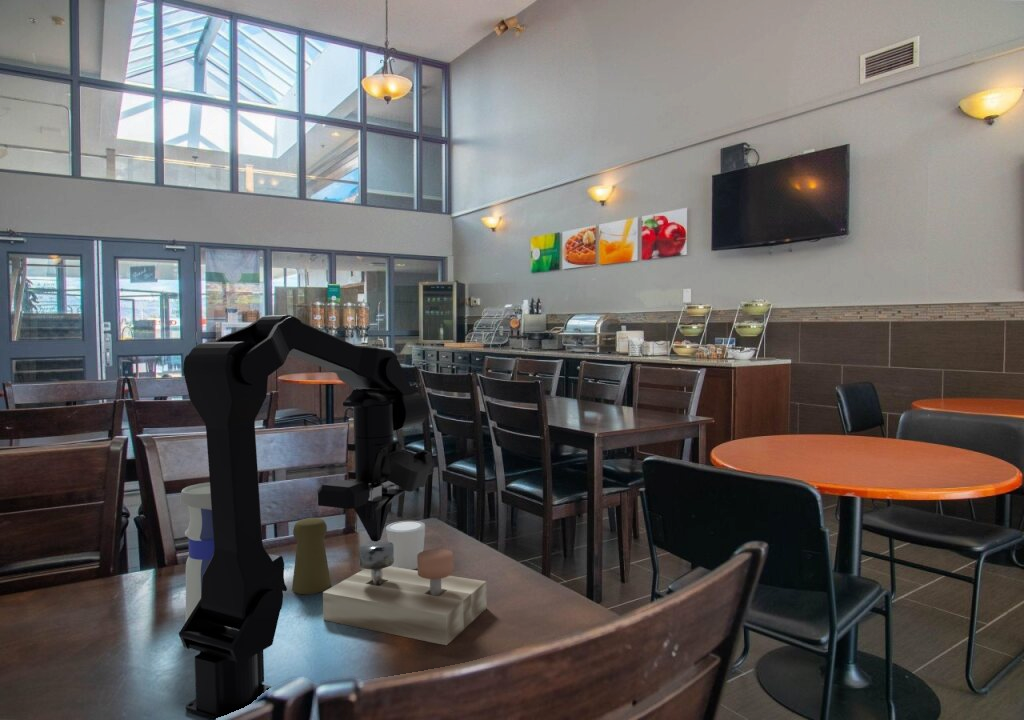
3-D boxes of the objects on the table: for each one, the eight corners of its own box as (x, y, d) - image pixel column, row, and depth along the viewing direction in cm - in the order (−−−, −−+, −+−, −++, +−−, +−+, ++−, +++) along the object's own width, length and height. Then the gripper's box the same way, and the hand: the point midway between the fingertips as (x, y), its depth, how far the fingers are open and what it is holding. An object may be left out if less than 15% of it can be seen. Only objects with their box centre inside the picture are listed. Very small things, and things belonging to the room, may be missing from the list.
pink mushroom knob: (442, 608, 85) (441, 563, 85) (411, 603, 87) (410, 558, 87) (459, 594, 89) (459, 551, 89) (429, 589, 91) (429, 547, 91)
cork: (319, 595, 97) (317, 525, 97) (284, 592, 99) (282, 524, 98) (337, 580, 103) (336, 514, 103) (304, 578, 104) (302, 513, 104)
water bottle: (249, 604, 94) (244, 440, 93) (247, 629, 86) (241, 449, 85) (188, 614, 91) (182, 444, 90) (180, 640, 83) (173, 454, 82)
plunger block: (446, 645, 81) (445, 615, 81) (323, 619, 89) (322, 592, 89) (486, 608, 92) (486, 581, 92) (373, 588, 100) (373, 563, 100)
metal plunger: (381, 597, 89) (380, 554, 89) (352, 592, 91) (351, 549, 91) (401, 584, 93) (400, 543, 93) (373, 580, 95) (372, 539, 95)
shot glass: (382, 561, 112) (381, 523, 112) (419, 555, 115) (418, 517, 115) (392, 574, 106) (391, 533, 105) (431, 567, 109) (430, 527, 108)
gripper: (382, 449, 80) (384, 569, 80) (452, 429, 97) (454, 528, 97) (313, 444, 84) (316, 558, 84) (392, 426, 101) (394, 521, 102)
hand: (375, 540), depth 92 cm, fingers closed
